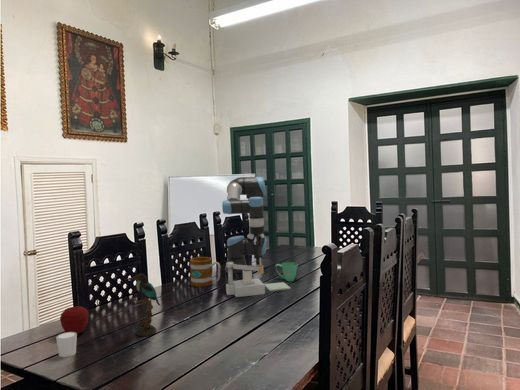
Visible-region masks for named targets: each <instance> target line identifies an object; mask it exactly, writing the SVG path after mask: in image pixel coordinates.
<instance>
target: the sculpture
mask: <svg viewBox="0 0 520 390" xmlns="http://www.w3.org/2000/svg"><path fill="white" fill-rule="evenodd" d="M124 280H125V281H136V283H135V284H136V285H135V287H136V290H137V291H138V292H139V293H140V294H142V295H143V297H142V299H140V300H137V298H135V297H132V302H134V301H135V302H136V303H144V305H145V304H146V306H147V309H146V310H145V315H146V318H145V317H143V320H141V317H142V316H143V313H141V310H138V311H137V312H136V315H137V317H136V318H137V325H138V326H139V328H138V329H136V332H135V334H136V335H137V336H138V337H139V336H140V337H142V336H143V337H150V336H154V335H155V334H156V333H157V328H156V327H155V326H154V325H152V324H151V323H152V318H153V315H154V314H153V313H152V310H153V309H154V305H153V304H152V301H155V302H156V304H157V305H158V306H161V304H160V301H159V299H158V296H157V291H156V289H155V287H154V286H153V284H152V283H150V282H149V279H148V278H147V275H145V274H144V273H139V274H137V275H135V276H132V277H128V278H125V279H124ZM139 313H141V314H140V316H139Z"/></svg>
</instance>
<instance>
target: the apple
mask: <svg viewBox="0 0 520 390" xmlns="http://www.w3.org/2000/svg"><path fill="white" fill-rule="evenodd" d="M89 315H90V314H89V310H88V309H87V308H85V307H83V306H80V305H79V306H78V305H77V306H71V307H68V308H65V309H64V311H62V312H61V314H60V317H59V321H60V323H61V327H62V329H63V331H64V333H66V332H75V333H77V335H79V334H81V333H82V332H83V331H85V329H86V327H87V324H88V322H89V317H90V316H89Z"/></svg>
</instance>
